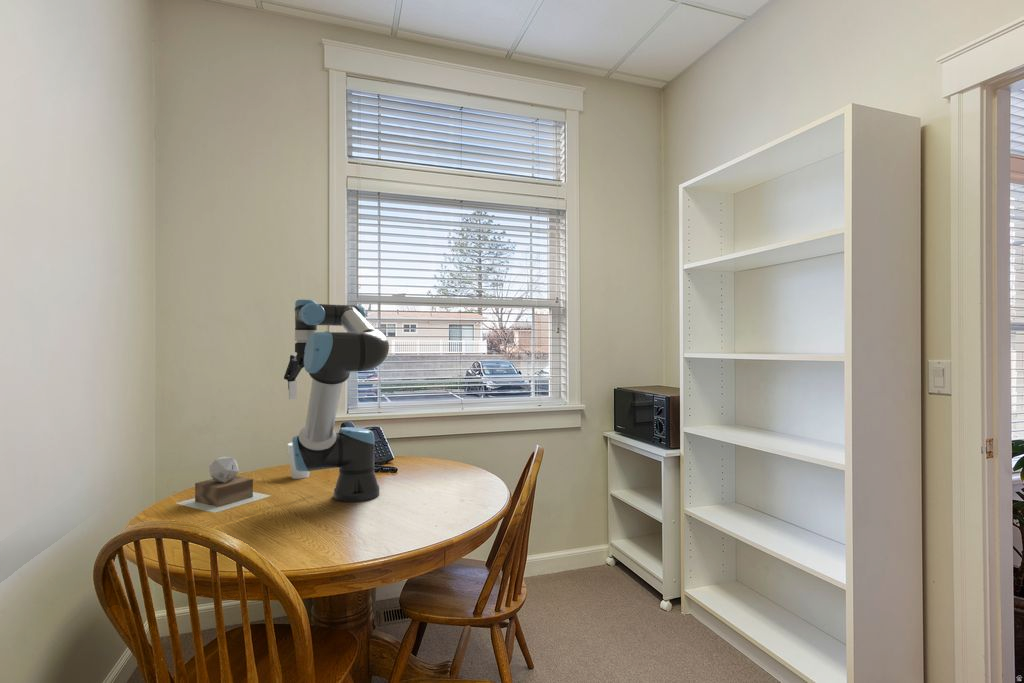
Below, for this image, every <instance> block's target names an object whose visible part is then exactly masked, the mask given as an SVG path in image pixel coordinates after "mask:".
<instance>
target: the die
mask: <svg viewBox="0 0 1024 683" xmlns="http://www.w3.org/2000/svg"><path fill="white" fill-rule="evenodd" d="M208 467H209V475H210V477H211V479H214V481H217V482H223V483H226V482H228V481H229V480H231V479H233V478H234V477H235V476H237V474H238V473H239V472H240V470H239V465H238V462H237V461H236V459H235V458H234V457H232V456H225V455H224V456H220V457H218V458H216V459H215V460H214V461H213V462H212V463H211V464H210V466H208Z"/></svg>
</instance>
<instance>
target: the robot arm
mask: <svg viewBox="0 0 1024 683" xmlns="http://www.w3.org/2000/svg"><path fill="white" fill-rule="evenodd" d="M317 302H318V301H316V300H314V299H297V300H295V302H294V304H295V305H294V341H295V343H294V352H295V353H296V354H290V356H289V362H288V364H287V367H286V370H285V373H284V376H283V379H284V380H286V381H287V382H288V383H287V386H288V388H287V390H288V400H296V399H297V380H296V378H297V377H298V376H299V374H300V372H301V371H302V369H304V370H305V371H306V373H308V374H309V375H308V376H309V378H311V379H312V382H311V388H310V394H309V399H308V405H307V406H308V407H307V414H306V419H305V425H304V427H303V428H301V429H300V431H299V433H298V435H294V436H293V437H292V438H291V439H292V440H291V443H292V445H293V455H294V462H295V467H296V470H298V471H300V472H301V471H308V472H309V471H310V472H313V471H321V470H330V469H337V468H339V469H338V470H339V472H338V477H337V481H336V484H335V488H334V489H333V498H334V500H336V501H338V502H343V503H344V502H345V503H347V502H349V503H351V502H352V503H353V502H354V503H355V502H364V501H369V500H373V499H375V498H377V497H378V496H379V495H380V485H379V483H378V481H377V477H376V473H375V447H376V446H375V445H376V441H375V440H376V439H375V434H374V432H373V430H370V429H367V428H362V427H354V426H352V427H351V426H345V427H340V428H339V430H338V432H336V431H335V430H334V428H335V423H336V417H337V412H338V408H339V401H340V397H341V394H342V393H341V392H342V386H343V383H345V382H346V381H348V379H349V377H350V374H351V373H352V372H354V373H355V372H366V371H372V370H373V369H374V370H375V369H376V368H377V367H379V366H380V365H382V363H384V361H385V360H386V359H387V357H388V354H389V351H390V344H389V343H390V342H389V341H388V338H387V336H386V335H385V334H384V333H383V332H382V331H380V330H379V329H376V328H374V327H373V326H372V325H371V324H370V323H369V321H368V320H366V317H367V316H366V315H367V314H366V310H365V307H363V306H362V305H356V304H351V305H350V304H330V303H329V304H326V303H324V304H323V303H317ZM318 326H335V327H337V326H339V327H343V329H345V332H343V331H341V332H340V331H339V332H338V331H336V332H335V331H334V332H332V331H328V330H325V331H322V332H321V331H318V329H317V328H318ZM310 472H309V473H310Z"/></svg>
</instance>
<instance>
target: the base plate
mask: <svg viewBox="0 0 1024 683" xmlns="http://www.w3.org/2000/svg"><path fill="white" fill-rule="evenodd" d="M269 497H271V494H266V493H265V494H264V493H259V492H257V491H256V492H255V491H253V497H252V498H248V499H245V500H241V501H238V502H234V503H231V504H228V505H224V506H221V507H216V506H212V505H207V504H203V503H199V502H195V497H193V498H189V499H187V500H186V499H185V500H183V501H182V500H181V501H179V502H175V503H174V504H177V505H180V506H185V507H188V508H192V509H196V510H201V511H203V512H204V511H205V512H210V513H214V514H215V513H218V512H222V511H225V510H228V509H233V508H236V507H238V506H243V505H245V504H249V503H251V502H255V501H258V500H259V501H260V500H262V499H265V498H269Z"/></svg>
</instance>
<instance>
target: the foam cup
mask: <svg viewBox="0 0 1024 683" xmlns="http://www.w3.org/2000/svg"><path fill="white" fill-rule="evenodd" d="M286 450H287V453H288V460H289V466H290V468H289V469H290V474H291V475H290V476H291V479H296V480H298V479H305V478H308V477H310V472H311V471H309V472H308V471H301V472H300V471H298V470H296V467H295V462H294V455H293V445H292V442H289V443H287V449H286Z"/></svg>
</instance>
